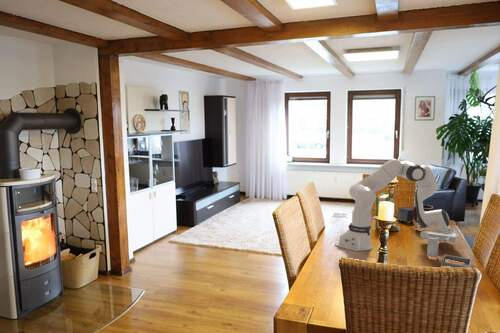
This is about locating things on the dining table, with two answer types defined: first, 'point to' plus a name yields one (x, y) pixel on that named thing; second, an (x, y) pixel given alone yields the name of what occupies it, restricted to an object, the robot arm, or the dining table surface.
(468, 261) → the tray
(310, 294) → the dining table surface
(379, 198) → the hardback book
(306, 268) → the dining table surface
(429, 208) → the mate gourd
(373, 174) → the robot arm
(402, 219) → the small box
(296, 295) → the dining table surface
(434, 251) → the metal block
